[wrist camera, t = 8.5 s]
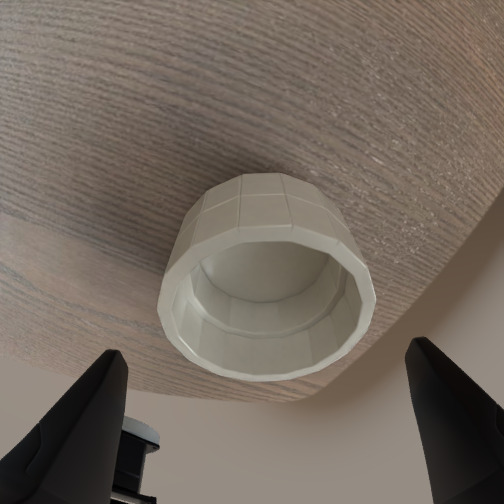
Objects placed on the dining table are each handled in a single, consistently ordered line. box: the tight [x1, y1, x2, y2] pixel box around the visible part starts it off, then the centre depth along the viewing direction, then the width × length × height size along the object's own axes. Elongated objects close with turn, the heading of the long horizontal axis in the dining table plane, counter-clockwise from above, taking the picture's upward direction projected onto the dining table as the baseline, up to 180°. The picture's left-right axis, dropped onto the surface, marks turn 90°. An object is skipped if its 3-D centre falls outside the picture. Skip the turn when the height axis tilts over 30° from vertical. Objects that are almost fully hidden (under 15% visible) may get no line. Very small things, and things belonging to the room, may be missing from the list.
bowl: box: [157, 173, 376, 382], centre depth 12 cm, size 7×7×4 cm
